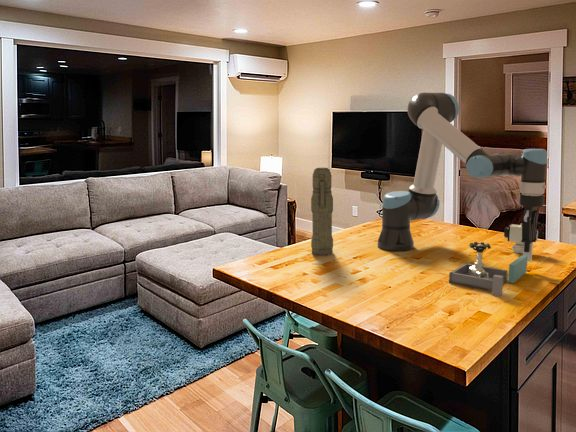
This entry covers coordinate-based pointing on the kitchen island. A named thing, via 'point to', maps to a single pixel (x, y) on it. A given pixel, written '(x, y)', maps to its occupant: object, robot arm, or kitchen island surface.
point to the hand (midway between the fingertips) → (526, 260)
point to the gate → (517, 268)
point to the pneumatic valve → (516, 237)
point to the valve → (479, 260)
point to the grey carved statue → (322, 213)
